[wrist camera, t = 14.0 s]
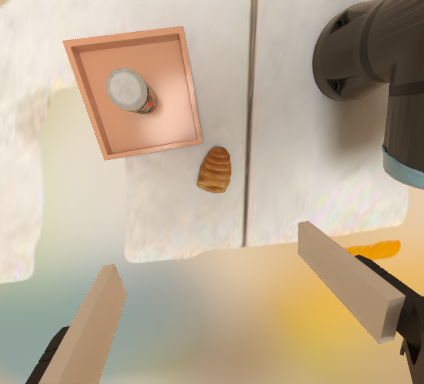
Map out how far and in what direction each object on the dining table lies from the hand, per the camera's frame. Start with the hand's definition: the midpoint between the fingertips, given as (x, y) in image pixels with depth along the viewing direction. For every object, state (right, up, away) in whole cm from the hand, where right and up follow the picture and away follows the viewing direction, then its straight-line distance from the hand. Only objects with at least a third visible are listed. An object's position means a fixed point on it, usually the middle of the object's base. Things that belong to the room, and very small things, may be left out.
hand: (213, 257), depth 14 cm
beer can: (-12, +21, +21) cm, 32 cm away
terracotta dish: (-12, +21, +21) cm, 32 cm away
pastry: (0, +9, +28) cm, 30 cm away
